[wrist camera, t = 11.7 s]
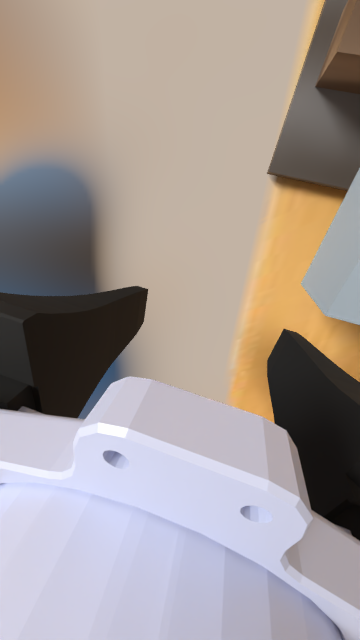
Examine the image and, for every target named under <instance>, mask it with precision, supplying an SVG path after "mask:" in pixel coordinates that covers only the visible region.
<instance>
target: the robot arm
mask: <svg viewBox="0 0 360 640" xmlns="http://www.w3.org/2000/svg"><path fill="white" fill-rule="evenodd" d="M147 294H148V289H145V288H142V287H139V286H133V287H127V288H122V289H117V290H112V291H107V292H101V293H95V294H88V295H77V296H29V295H17V294H8V293H0V640H360V382H358V381H357V380H356V379H354V378H353V377H351V376H350V375H349V374H347V373H346V372H345V371H343V370H342V369H341V368H339V367H338V366H337V365H336V364H334V363H333V362H332V361H331V360H330V359H328V358H327V357H326V356H325V355H324V354H322V353H321V352H320V351H319V350H318V349H317V348H316V347H314V346H313V345H312V344H311V343H310V342H309V341H307V340H306V339H305V338H304V337H302V336H301V335H300V334H298V333H296V332H293V331H290V330H286V329H284V330H283V331H282V333H281V335H280V337H279V339H278V341H277V343H276V345H275V347H274V349H273V350H272V352H271V354H270V356H269V358H268V360H267V377H268V384H269V390H270V396H271V402H272V407H273V413H274V421H275V424H274V423H272V422H271V421H269V420H267V419H265V418H264V417H262V416H259V415H256V414H253V413H250V412H247V411H244V410H241V409H238V408H235V407H232V406H230V405H227V404H224V403H220V402H218V401H215V400H212V399H209V398H206V397H203V396H200V395H197V394H194V393H191V392H188V391H185V390H182V389H179V388H176V387H173V386H171V385H168V384H165V383H162V382H158V381H156V380H152V379H144V378H136V377H126V378H124V379H121V380H119V381H116V382H114V383H112V384H111V385H110V386H109V387H108V389H107V390H106V392H105V393H104V394H103V396H102V397H101V399H100V400H99V401H98V403H97V404H96V405H95V407H94V408H93V410H92V411H91V412H90V414H89V415H88V416H87V418H86V419H78V416H79V415H80V413H81V411H82V409H83V408H84V406H85V404H86V402H87V401H88V399H89V398H90V396H91V394H92V393H93V391H94V390H95V388H96V386H97V385H98V383H99V382H100V380H101V379H102V377H103V375H104V374H105V373H106V371H107V370H108V368H109V367H110V365H111V364H112V363H113V362H114V360H115V359H116V358H117V357H118V355H119V354H120V353H121V352H122V351H123V350H124V349H125V347H126V346H127V345H128V344H129V342H130V341H131V340H132V339H133V338H134V336H135V335H136V334H137V332H138V331H139V329H140V327H141V325H142V324H143V322H144V316H145V309H146V301H147Z"/></svg>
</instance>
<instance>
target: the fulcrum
mask: <svg viewBox="0 0 360 640" xmlns="http://www.w3.org/2000/svg"><path fill="white" fill-rule="evenodd" d="M359 168H360V0H325V2H324V5H323V8H322V11H321V14H320V17H319V20H318V23H317V26H316V29H315V32H314V35H313V38H312V41H311V44H310V47H309V50H308V53H307V56H306V59H305V62H304V65H303V68H302V71H301V74H300V77H299V80H298V83H297V86H296V89H295V92H294V95H293V98H292V101H291V104H290V107H289V110H288V113H287V116H286V119H285V121H284V124H283V127H282V130H281V133H280V136H279V139H278V142H277V145H276V148H275V151H274V154H273V157H272V160H271V163H270V166H269V169H268V172H267V174H271V175H276V176H280V177H285V178H290V179H294V180H299V181H304V182H308V183H313V184H317V185H322V186H327V187H331V188H336V189H341V190H345V191H348V190H349V188H350V186H351V184H352V182H353V180H354V178H355V176H356V174H357V172H358V170H359Z"/></svg>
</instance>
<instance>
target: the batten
mask: <svg viewBox="0 0 360 640" xmlns="http://www.w3.org/2000/svg"><path fill="white" fill-rule="evenodd" d="M301 285H302V286H303V287H304V289H305V290H306V291H307V293H308V294H309V295H310V297H311V298H312V299H313V300H314V302H315V303H316V304H317V306H318V307H319V308H320V310H321V311H322V312H323V314H324V315H325V316H329V317H332V318H336V319H339V320H343V321H347V322H350V323H354V324H357V325H360V168H359V170H358V172H357V174H356V176H355V178H354V180H353V182H352V184H351V186H350V188H349V190H348V192H347V194H346V196H345V198H344V200H343V202H342V204H341V206H340V208H339V210H338V212H337V214H336V216H335V217H334V219H333V221H332V223H331V225H330V227H329V229H328V231H327V233H326V235H325V237H324V239H323V241H322V243H321V245H320V247H319V249H318V251H317V253H316V255H315V257H314V259H313V261H312V263H311V265H310V267H309V269H308V271H307V273H306V275H305V277H304V279H303V281H302V283H301Z"/></svg>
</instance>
